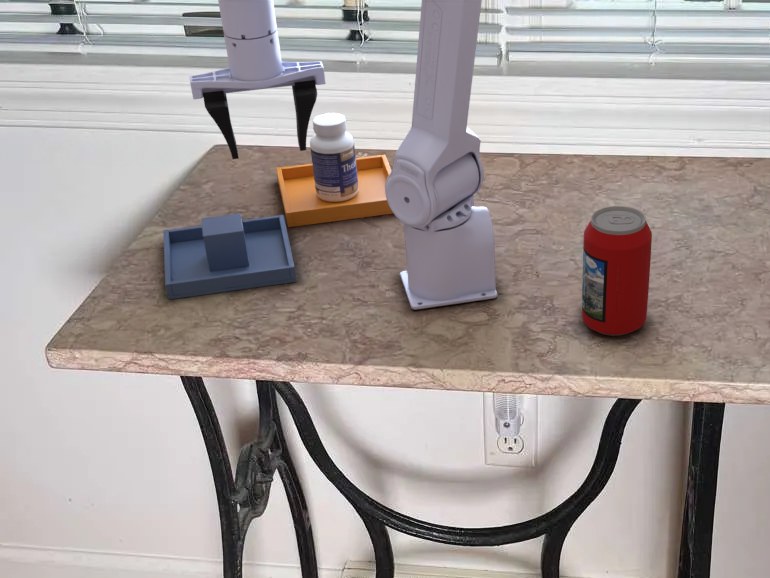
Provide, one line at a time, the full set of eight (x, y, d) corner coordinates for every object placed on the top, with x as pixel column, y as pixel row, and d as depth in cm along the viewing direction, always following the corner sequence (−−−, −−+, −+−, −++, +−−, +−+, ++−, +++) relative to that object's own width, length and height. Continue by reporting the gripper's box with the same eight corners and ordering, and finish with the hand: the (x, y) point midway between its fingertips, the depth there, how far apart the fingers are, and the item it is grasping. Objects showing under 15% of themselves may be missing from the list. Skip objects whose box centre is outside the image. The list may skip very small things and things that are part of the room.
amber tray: (386, 167, 155) (385, 154, 154) (403, 212, 145) (402, 197, 144) (278, 181, 153) (276, 167, 152) (287, 227, 143) (285, 213, 142)
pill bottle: (352, 204, 146) (344, 128, 140) (310, 202, 147) (301, 126, 141) (364, 185, 150) (356, 111, 144) (323, 183, 151) (314, 109, 145)
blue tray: (285, 228, 143) (283, 214, 142) (296, 281, 133) (294, 266, 132) (166, 244, 141) (163, 230, 140) (168, 299, 131) (165, 284, 130)
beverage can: (580, 306, 127) (583, 203, 119) (644, 306, 126) (651, 202, 118) (581, 340, 121) (584, 234, 114) (648, 340, 121) (655, 234, 113)
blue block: (246, 248, 139) (240, 212, 136) (249, 266, 135) (243, 230, 132) (208, 253, 138) (201, 218, 135) (209, 271, 135) (202, 236, 132)
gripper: (313, 11, 131) (327, 130, 139) (181, 26, 129) (203, 145, 137) (321, 32, 125) (335, 154, 134) (182, 47, 123) (206, 170, 132)
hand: (268, 151), depth 135 cm, fingers open, 7 cm apart
